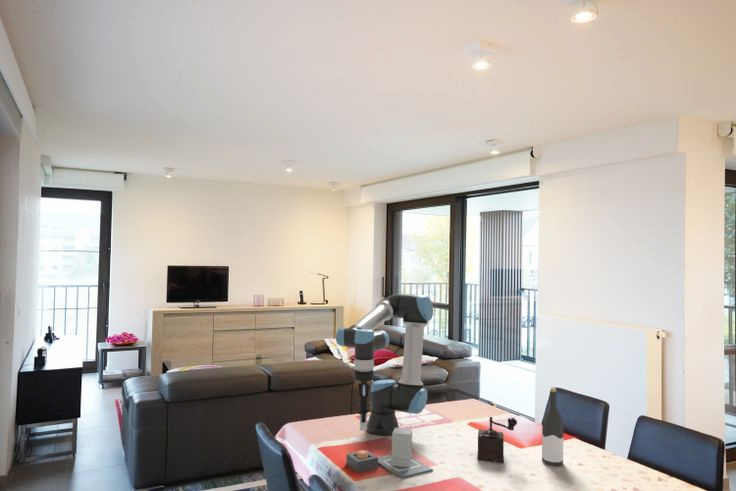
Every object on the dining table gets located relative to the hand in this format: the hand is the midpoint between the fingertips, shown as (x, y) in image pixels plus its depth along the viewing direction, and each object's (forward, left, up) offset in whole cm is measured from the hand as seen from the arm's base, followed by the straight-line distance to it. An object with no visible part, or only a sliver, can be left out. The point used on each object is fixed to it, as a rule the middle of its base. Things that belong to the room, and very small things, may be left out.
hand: (363, 429), depth 202 cm
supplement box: (+7, +14, -13) cm, 20 cm away
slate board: (+7, +14, -14) cm, 21 cm away
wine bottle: (+33, +70, -14) cm, 78 cm away
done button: (0, 0, -13) cm, 13 cm away
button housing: (0, 0, -14) cm, 14 cm away
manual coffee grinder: (+19, +53, -14) cm, 58 cm away
